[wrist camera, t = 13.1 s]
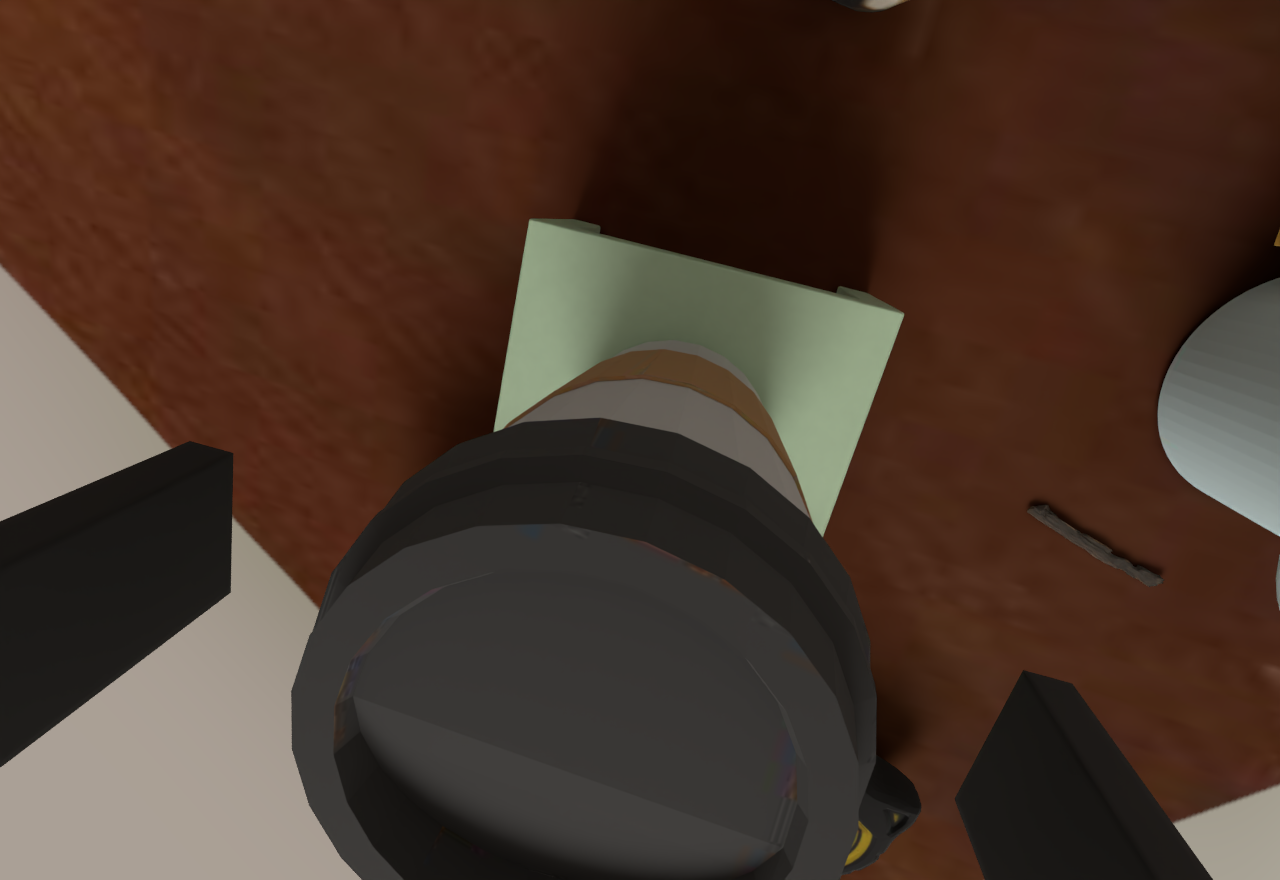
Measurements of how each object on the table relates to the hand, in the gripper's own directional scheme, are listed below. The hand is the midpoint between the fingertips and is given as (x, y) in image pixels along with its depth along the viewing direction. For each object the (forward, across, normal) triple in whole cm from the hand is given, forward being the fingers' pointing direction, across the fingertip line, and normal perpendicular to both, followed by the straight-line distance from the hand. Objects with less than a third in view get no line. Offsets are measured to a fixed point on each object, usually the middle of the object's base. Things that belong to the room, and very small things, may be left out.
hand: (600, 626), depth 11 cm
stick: (+18, +19, -2) cm, 26 cm away
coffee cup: (+12, 0, 0) cm, 12 cm away
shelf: (+18, 0, 0) cm, 18 cm away
